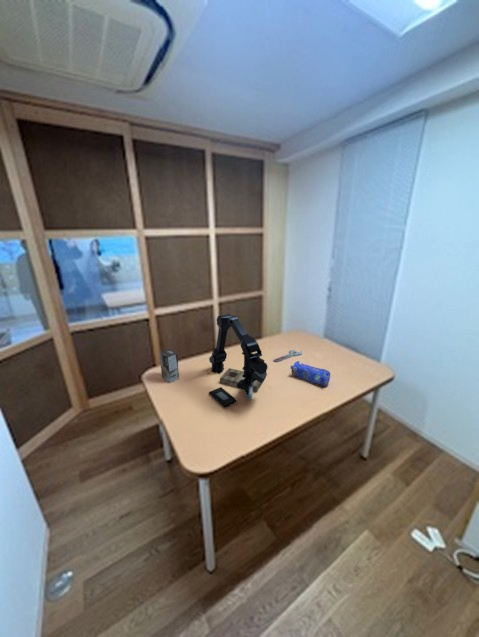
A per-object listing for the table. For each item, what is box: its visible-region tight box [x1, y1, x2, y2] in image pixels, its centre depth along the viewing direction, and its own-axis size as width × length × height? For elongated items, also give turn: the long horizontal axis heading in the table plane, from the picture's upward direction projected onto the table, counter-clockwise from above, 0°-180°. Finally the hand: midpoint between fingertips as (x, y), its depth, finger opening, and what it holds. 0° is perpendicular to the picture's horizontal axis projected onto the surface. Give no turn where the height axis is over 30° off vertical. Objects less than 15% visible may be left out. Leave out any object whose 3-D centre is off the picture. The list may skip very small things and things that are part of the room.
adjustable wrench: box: [273, 349, 303, 363], centre depth 180 cm, size 8×26×2 cm, turn 121°
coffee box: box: [159, 349, 180, 384], centre depth 148 cm, size 9×6×16 cm
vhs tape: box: [208, 386, 238, 409], centre depth 133 cm, size 8×14×2 cm, turn 38°
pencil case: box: [289, 360, 331, 387], centre depth 149 cm, size 22×9×10 cm, turn 53°
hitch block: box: [219, 367, 263, 393], centre depth 147 cm, size 22×12×4 cm, turn 67°
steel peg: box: [244, 382, 254, 400], centre depth 131 cm, size 4×4×8 cm
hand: (248, 392), depth 131 cm, fingers closed on steel peg, 4 cm apart
